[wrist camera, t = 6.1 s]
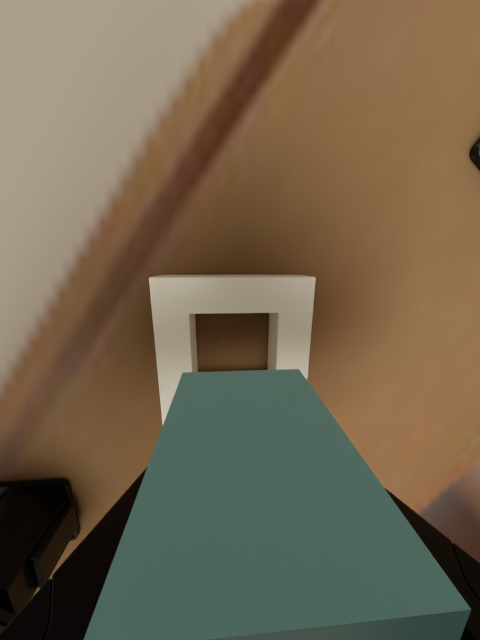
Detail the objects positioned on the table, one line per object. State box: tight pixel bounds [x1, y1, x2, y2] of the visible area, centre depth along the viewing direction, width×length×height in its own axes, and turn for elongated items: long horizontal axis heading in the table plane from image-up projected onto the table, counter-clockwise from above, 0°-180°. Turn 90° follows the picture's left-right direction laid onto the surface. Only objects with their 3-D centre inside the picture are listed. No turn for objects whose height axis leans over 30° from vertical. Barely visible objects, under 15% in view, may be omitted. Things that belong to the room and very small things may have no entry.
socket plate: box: [149, 275, 316, 425], centre depth 18 cm, size 10×20×3 cm, turn 0°
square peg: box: [84, 369, 471, 640], centre depth 6 cm, size 4×4×6 cm
